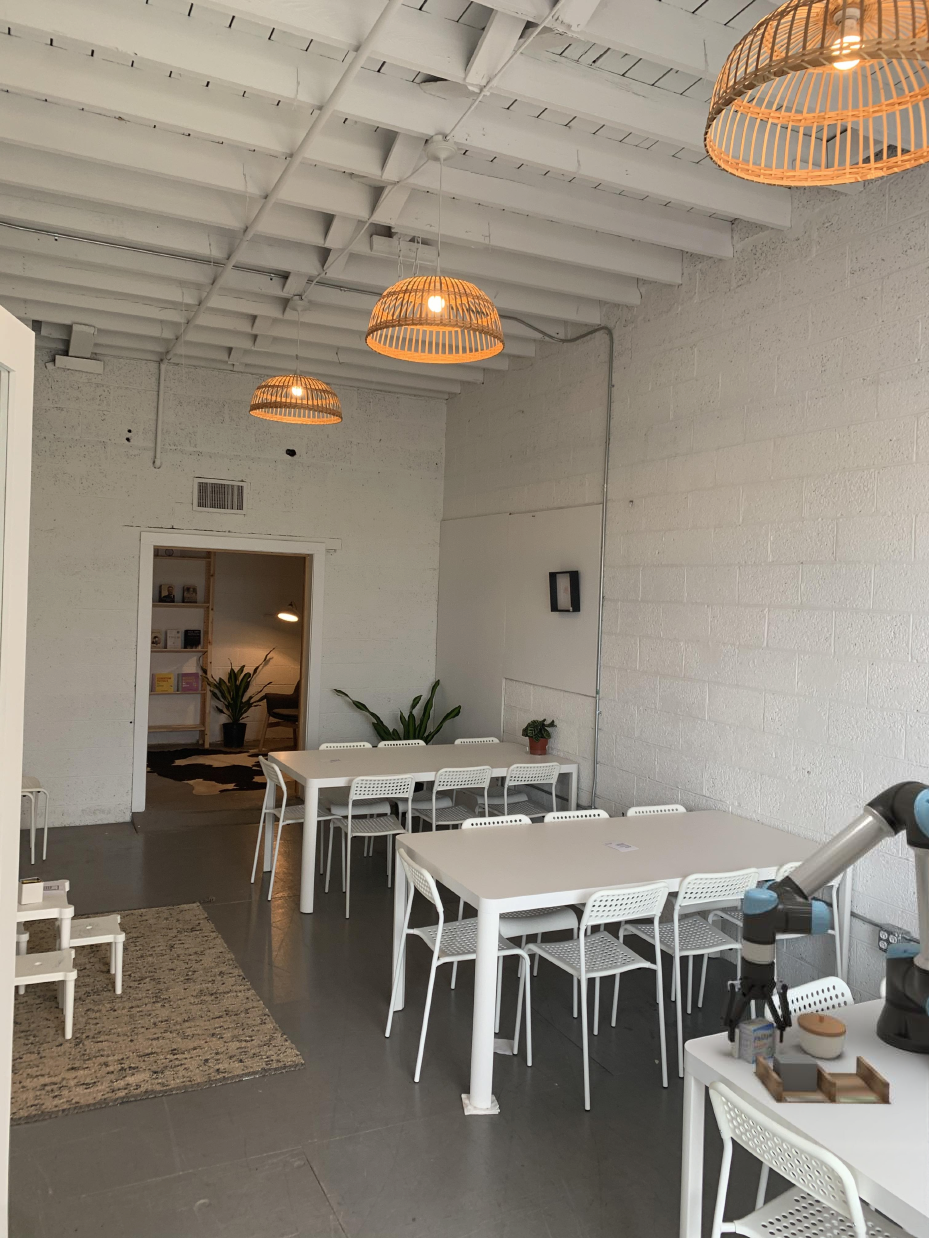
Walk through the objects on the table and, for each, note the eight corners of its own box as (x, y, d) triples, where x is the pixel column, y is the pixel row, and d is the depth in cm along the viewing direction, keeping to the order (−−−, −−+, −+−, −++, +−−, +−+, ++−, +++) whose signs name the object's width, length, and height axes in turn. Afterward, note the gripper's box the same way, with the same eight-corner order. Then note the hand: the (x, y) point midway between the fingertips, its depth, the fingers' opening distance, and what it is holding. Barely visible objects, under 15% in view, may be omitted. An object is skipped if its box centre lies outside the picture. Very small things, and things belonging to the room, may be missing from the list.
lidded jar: (849, 1069, 202) (851, 1027, 202) (800, 1062, 204) (801, 1021, 204) (839, 1048, 213) (840, 1008, 213) (792, 1042, 215) (793, 1003, 215)
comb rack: (753, 1076, 197) (753, 1053, 197) (860, 1077, 198) (860, 1055, 198) (776, 1107, 184) (777, 1082, 184) (891, 1108, 185) (892, 1084, 185)
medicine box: (751, 1068, 200) (752, 1029, 201) (735, 1060, 204) (736, 1022, 204) (773, 1060, 205) (774, 1022, 205) (757, 1052, 209) (759, 1015, 209)
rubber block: (808, 1082, 193) (809, 1054, 193) (816, 1091, 189) (817, 1063, 189) (772, 1081, 193) (773, 1054, 193) (779, 1091, 189) (780, 1063, 189)
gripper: (796, 953, 209) (793, 1049, 209) (707, 951, 208) (703, 1047, 208) (810, 964, 202) (807, 1064, 201) (717, 962, 201) (714, 1063, 200)
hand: (754, 1055), depth 205 cm, fingers closed on medicine box, 9 cm apart
